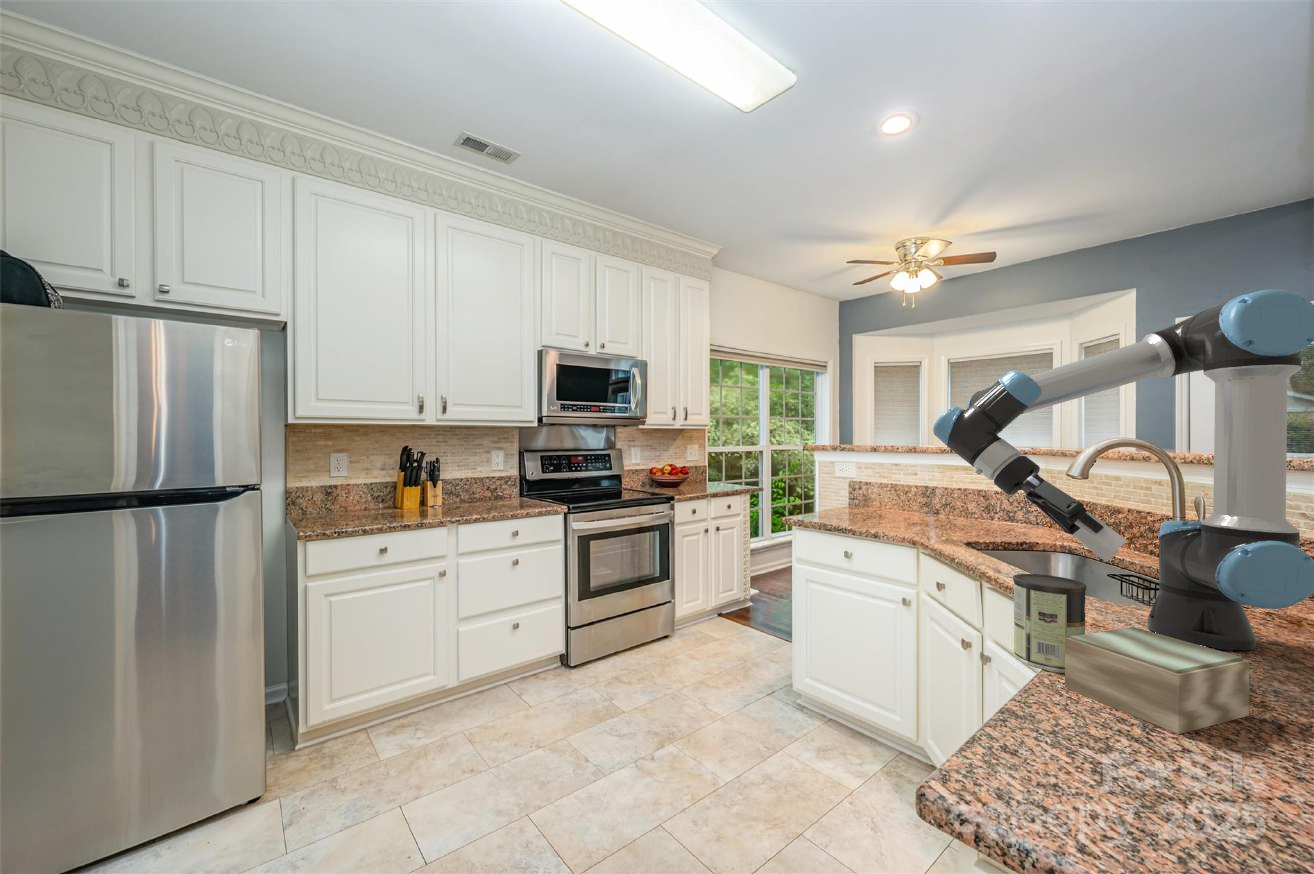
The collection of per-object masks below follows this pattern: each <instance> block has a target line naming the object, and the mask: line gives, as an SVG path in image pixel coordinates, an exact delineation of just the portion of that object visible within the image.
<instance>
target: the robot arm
mask: <svg viewBox="0 0 1314 874" xmlns="http://www.w3.org/2000/svg"><path fill="white" fill-rule="evenodd" d="M1313 342H1314V303H1313V302H1312V301H1310V300H1309V299H1307V298H1305V297H1304V296H1302V295H1301V294H1298V293H1296V292H1293V291H1289V290H1286V289H1274V288H1273V289H1264V290H1263V289H1262V290H1259V291H1258V290H1257V291H1254V292H1251V293H1245V294H1242V295H1238V296H1236V297H1233V298H1232V299H1231V300H1229V301H1225V302H1223V303H1221V304H1218V305H1216V306H1214V307H1210V308H1208V309H1206V310H1203V311H1202V310H1201V312H1199V313H1196V314H1194V315H1192V316H1190V317H1188V318H1185V319H1184V320H1181V321H1179V322H1178V323H1175V324H1172V325H1170V326H1168V327H1166V328H1164V329H1160V330H1158V331H1155V332H1151V333H1148V334H1146V335H1145V336H1144V337H1143V338H1142V340H1141V341H1138V342H1136V343H1132V344H1129V345H1125V346H1123V347H1119V348H1116V349H1112V350H1109V351H1107V352H1103V353H1099V354H1096V355H1093V356H1090V357H1087V358H1083V359H1080V360H1077V361H1074V362H1070V363H1067V364H1063V365H1062V366H1058V367H1053V368H1050V369H1048V370H1044V371H1041V372H1038V373H1035V374H1031V375H1028V374H1025V373H1024V372H1022V371H1020V370H1017V369H1015V370H1014V369H1011V370H1009V371H1008V372H1007V373H1005V374H1004V375H1002V377H1000V378H999V379H997V381H996V382H994V384H993V385H991V386H989V387H987V388H985V389H982V390H979V391H976V392H975V393H974V394H972V396H971V397H970V399H969V400H968V403H967V408H966V409H964V408H961V406H960V407H959V406H953V407H950V408H949V409H948V410H946V411H944V412H943V413H942V414H941V415H940V416H939V417H938V418H937V419H936V421H935V422H934V425H933V429H932V431H933V435H934V436H935V437H936V438H937V439H939V440H940V441H941V442H942V443H943V444H944V445H945V446H947V448H949V449H950V450H951V451H953V452H954V453H955V454H956V455H957V456H959V457H960V458H961V459H963V460H964V461H965V462H966V463H967V464H969V465H970V466H971V467H973V468H974V469H976V471H975V473H976V475H978V476H979V475H981V474H982V475H983V476H984V477H986V478H987V479H988V480H990V481H993V484H994V485H995V486H996V487H997V488H999V489H1000V490H1001V491H1003V492H1004V493H1005V494H1007V495H1009V496H1012V495H1015V494H1017V493H1018V492H1020V491H1023V492H1024V493H1025V498H1026V500H1027V501H1029V503H1032V504H1033V505H1034V506H1036V507H1037V508H1038V509H1039V510H1040V511H1041V512H1042V513H1044V515H1046V516H1047V517H1048V518H1049V519H1050V520H1052V521H1053V522H1054V523H1055V524H1056V525H1058V527H1059V528H1060V529H1062V530H1063V532H1064V533H1066V534H1068V535H1071V536H1072V537H1074V538H1075V539H1076V540H1078V542H1080V543H1081V544H1082V545H1084V546H1085V547H1086V548H1088V549H1089V550H1090V551H1091V552H1092V553H1094V554H1095V555H1096V556H1097V557H1099V558H1100V559H1101V560H1102V561H1104V562H1105V563H1107V562H1108V561H1109V560H1111V559H1112V558H1114V557H1115V556H1116V555H1117V554H1119V553H1120V551H1119V550H1118V549H1120V548H1121V547H1123V545H1125V544H1126V543H1128V540H1127V539H1126V538H1124V537H1123V536H1122V535H1121V534H1119V533H1118V532H1117V531H1115V530H1114V529H1112V528H1111V527H1110V526H1109V525H1107V524H1105V523H1104V522H1103V521H1102V520H1100V519H1099V517H1096V516H1095V515H1094V514H1093V513H1091V512H1089V511H1088V510H1087V509H1086V507H1085V505H1084V503H1083V502H1081V501H1078V500H1077V499H1076V498H1074V497H1072V496H1070V495H1069V494H1067V492H1065V491H1064V490H1061V489H1060V488H1058V487H1056V486H1055V485H1053V484H1052V483H1050V482H1049V481H1047V480H1045V479H1044V478H1043V477H1041V476H1040V475H1039V472H1040V471H1041V467H1040V466H1039V465H1038V463H1036V462H1034V461H1033V460H1031V459H1030V458H1029V457H1028V456H1026V455H1022V454H1021V451H1020V450H1018V449H1017V448H1016V447H1014V446H1013V445H1012V444H1010V443H1009V442H1008V441H1006V440H1005V439H1003V437H1000V436H999V435H998V434H1000V433H1001V432H1003V430H1004V429H1006V427H1008V425H1010V424H1011V423H1013V421H1015V420H1016V419H1017V418H1018V417H1019V416H1020V415H1022V414H1026V413H1027V414H1028V413H1030V412H1033V411H1037V410H1042V409H1043V408H1044V409H1045V408H1047V407H1051V406H1055V405H1059V404H1063V403H1065V402H1069V401H1072V400H1076V399H1079V398H1082V397H1087V396H1089V395H1094V394H1098V393H1101V392H1104V391H1106V390H1107V391H1108V390H1111V389H1115V388H1118V387H1122V386H1126V385H1128V384H1132V383H1137V382H1140V381H1142V380H1146V379H1150V378H1154V377H1158V378H1161V379H1167V378H1172V377H1175V376H1179V375H1183V374H1188V373H1193V372H1199V371H1203V375H1204V376H1205V377H1206V378H1208V379H1210V380H1211V381H1213V382H1214V431H1213V433H1214V435H1213V436H1214V438H1213V439H1214V440H1213V442H1214V443H1213V446H1214V447H1213V448H1214V449H1213V512H1212V514H1211V515H1210V516H1208V517H1206V518H1205V519H1203V520H1201V521H1197V520H1195V521H1194V520H1166V521H1164V522H1162V523H1161V524H1160V527H1159V533H1158V538H1157V539H1158V559H1159V560H1158V562H1159V564H1158V574H1159V576H1158V577H1159V578H1158V579H1159V580H1158V581H1159V582H1158V583H1159V590H1158V591H1159V592H1158V593H1157V596H1156V598H1155V601H1154V603H1153V604H1152V607H1151V610H1150V612H1149V614H1148V616H1147V629H1148V628H1149V629H1150V630H1151V631H1150V630H1149V629H1148V630H1149V631H1150V632H1152V631H1153V633H1154V632H1156V633H1157V634H1161V635H1164V636H1168V637H1171V638H1175V639H1179V640H1182V641H1186V642H1189V643H1193V644H1197V645H1202V646H1207V648H1209V647H1214V648H1213V649H1215V648H1217V649H1216V650H1223V649H1225V651H1233V650H1249V651H1253V649H1254V650H1256V647H1257V639H1256V638H1257V637H1256V634H1255V632H1254V630H1253V628H1252V625H1251V623H1250V621H1249V618H1248V615H1247V612H1246V611H1245V609H1244V606H1243V605H1245V606H1252V607H1256V608H1258V609H1264V610H1265V609H1267V610H1279V609H1285V608H1290V607H1292V606H1296V605H1298V604H1299V603H1300V602H1302V601H1305V600H1306V599H1308V598H1309V597H1310V596H1311V595H1312V594H1313V593H1314V559H1313V558H1312V557H1310V556H1309V554H1308V553H1307V552H1305V551H1304V550H1303V549H1302V548H1300V541H1301V540H1300V538H1301V537H1300V529H1298V528H1297V527H1296V526H1294V525H1293V524H1292V523H1290V522H1289V521H1288V520H1287V510H1286V509H1287V448H1288V447H1287V443H1288V442H1287V441H1288V439H1287V436H1288V435H1287V433H1288V428H1287V427H1288V380H1289V378H1291V377H1292V376H1294V375H1295V374H1297V373H1298V372H1299V371H1300V370H1302V369H1303V367H1302V357H1303V350H1304V349H1306V348H1307V347H1309V346H1310V345H1312V343H1313Z"/></svg>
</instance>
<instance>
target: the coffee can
mask: <svg viewBox="0 0 1314 874" xmlns="http://www.w3.org/2000/svg"><path fill="white" fill-rule="evenodd" d="M1012 581H1013V657H1014V658H1015V659H1016V660H1017V661H1019V662H1021V663H1023V664H1025V665H1027V666H1029V667H1032V668H1035V669H1039V670H1043V669H1044V668H1045V669H1044V670H1043V671H1048V672H1050V673H1051V672H1052V673H1059V674H1065V638H1069V637H1071V636H1076V635H1083V634H1086V591H1087V584H1085V583H1083V582H1081V581H1078V580H1075V579H1073V578H1067V577H1061V576H1055V575H1050V574H1049V575H1048V574H1040V573H1039V574H1038V573H1019V574H1018V573H1017V574H1015V575H1012Z"/></svg>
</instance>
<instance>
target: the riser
mask: <svg viewBox="0 0 1314 874" xmlns="http://www.w3.org/2000/svg"><path fill="white" fill-rule="evenodd" d="M1064 688H1065V689H1067V690H1069V691H1073V692H1075V693H1077V694H1080V695H1083V696H1085V697H1087V698H1090V699H1092V700H1093V701H1097V702H1099V703H1102V704H1103V705H1106V706H1109V707H1110V708H1114V709H1116V710H1118V711H1121V712H1123V713H1126V714H1128V715H1131V716H1133V717H1136V718H1138V719H1140V720H1143V721H1145V722H1148V723H1150V724H1153V725H1155V726H1157V727H1159V728H1162V729H1165V730H1167V731H1170V732H1172V733H1174V734H1177V735H1180V734H1185V733H1188V732H1192V731H1197V730H1200V729H1205V728H1208V727H1210V726H1211V727H1212V726H1216V725H1218V724H1222V723H1227V722H1231V721H1234V720H1238V719H1241V718H1242V719H1243V718H1245V717H1250V660H1247V659H1243V656H1239V655H1236V654H1232V653H1228V652H1226V651H1221V650H1219V649H1215V648H1209V647H1204V646H1200V645H1197V644H1193V643H1189V642H1186V641H1182V640H1179V639H1175V638H1171V637H1168V636H1164V635H1161V634H1157V633H1154V632H1152V631H1150V630H1146V629H1142V628H1138V627H1135V626H1132V627H1125V628H1117V629H1111V630H1104V631H1099V632H1091V633H1085V634H1083V635H1076V636H1071V637H1069V638H1065V673H1064Z"/></svg>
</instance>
